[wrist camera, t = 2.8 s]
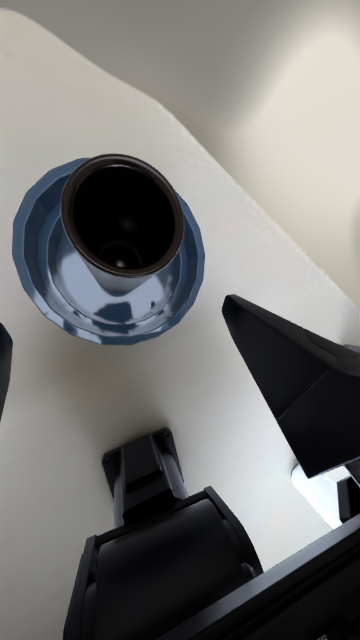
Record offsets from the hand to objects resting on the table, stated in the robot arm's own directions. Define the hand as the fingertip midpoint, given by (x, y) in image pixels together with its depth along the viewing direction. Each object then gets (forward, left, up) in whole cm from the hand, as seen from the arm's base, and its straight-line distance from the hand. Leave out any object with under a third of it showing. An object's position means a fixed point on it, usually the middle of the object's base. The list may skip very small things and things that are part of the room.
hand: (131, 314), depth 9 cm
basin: (+4, -1, -10) cm, 11 cm away
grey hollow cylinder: (+4, -1, -10) cm, 10 cm away
